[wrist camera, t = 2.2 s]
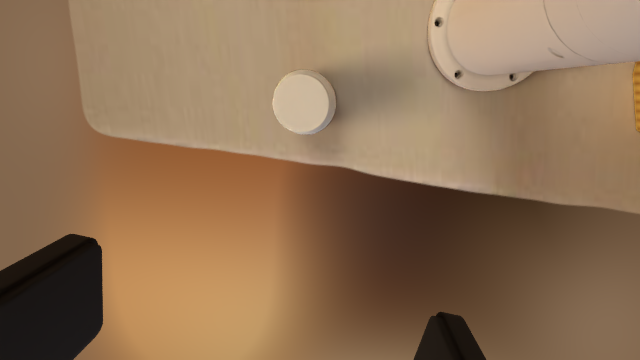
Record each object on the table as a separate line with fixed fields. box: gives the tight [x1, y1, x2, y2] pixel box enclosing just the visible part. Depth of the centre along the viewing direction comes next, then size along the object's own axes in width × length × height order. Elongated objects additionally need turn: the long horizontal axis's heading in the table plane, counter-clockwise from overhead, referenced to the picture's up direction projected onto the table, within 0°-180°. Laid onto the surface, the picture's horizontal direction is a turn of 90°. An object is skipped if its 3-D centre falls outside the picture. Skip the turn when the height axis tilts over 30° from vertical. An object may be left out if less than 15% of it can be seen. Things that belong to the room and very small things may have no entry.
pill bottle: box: [272, 69, 336, 135], centre depth 29 cm, size 6×6×10 cm
